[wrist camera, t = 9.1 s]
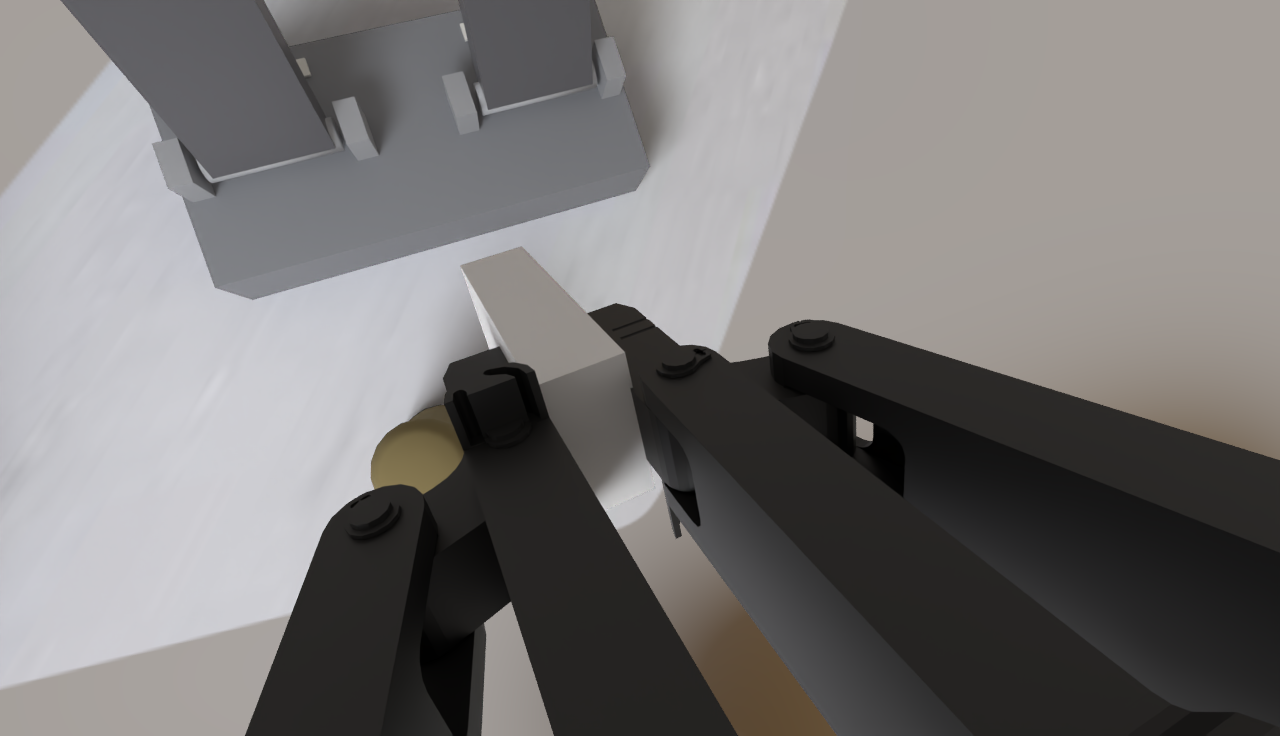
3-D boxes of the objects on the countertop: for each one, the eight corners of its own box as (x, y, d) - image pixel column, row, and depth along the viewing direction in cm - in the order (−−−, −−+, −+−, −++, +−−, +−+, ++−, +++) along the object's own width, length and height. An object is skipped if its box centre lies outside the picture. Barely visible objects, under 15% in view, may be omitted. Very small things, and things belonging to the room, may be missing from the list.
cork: (404, 503, 41) (363, 545, 30) (390, 412, 41) (345, 421, 30) (498, 487, 42) (491, 521, 31) (485, 398, 42) (473, 402, 31)
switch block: (252, 299, 40) (191, 279, 32) (187, 117, 39) (111, 54, 32) (635, 190, 45) (658, 151, 37) (581, 27, 44) (593, -45, 37)
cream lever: (349, 166, 35) (192, -124, 22) (218, 199, 34) (-36, -88, 20) (338, 125, 36) (182, -175, 23) (210, 156, 35) (-35, -144, 22)
